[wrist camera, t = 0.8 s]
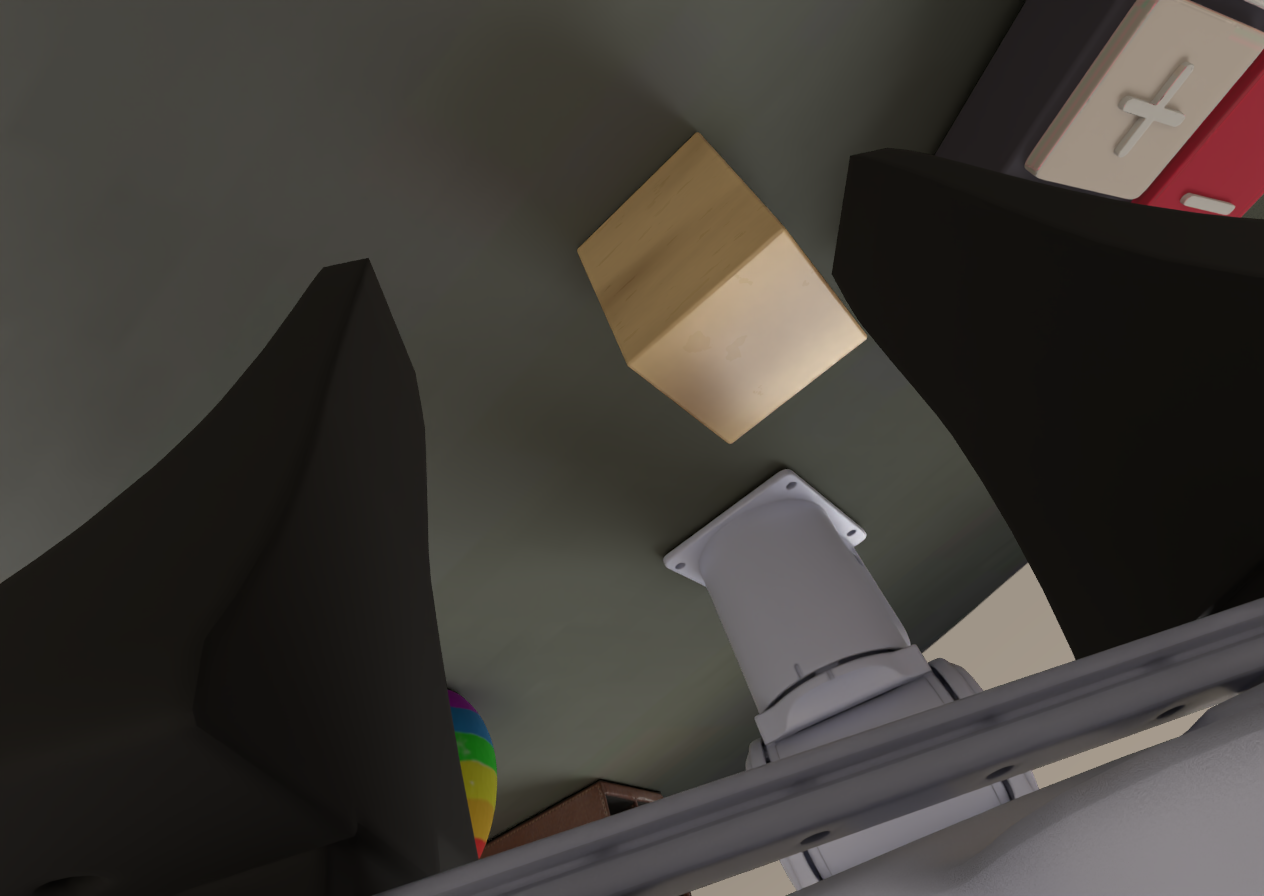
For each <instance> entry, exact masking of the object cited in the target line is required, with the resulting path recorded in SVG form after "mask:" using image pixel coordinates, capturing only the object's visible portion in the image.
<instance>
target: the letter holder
mask: <svg viewBox="0 0 1264 896" xmlns="http://www.w3.org/2000/svg"><path fill="white" fill-rule="evenodd" d="M662 798H663V797H662V795H661V792H654V791H648V790H644V789H639V788H635V787H630V786H626V785H621V784H616V783H611V782H607V781H603V780H599V781H598V782H596V783H594V784H592V785H590V786H589V787H587V788H585V789H583V790H581V791H580V792H578V793H576V794H574V795H573V796H570V797H569V798H567V799H565V800H563V801H561V802H560V803H558V804H556V805H554V806H552V807H550V808H549V809H547V810H545V811H543V812H542V813H540V814H538V815H536V816H535V817H533V818H531V819H529V820H527V821H525V822H523V823H522V824H520V825H518V826H517V827H515V828H512V829H511V830H509V831H507V832H505V833H504V834H502V835H500V836H499V837H497V838H495V839H494V840H492V841H490V842H488V843H487V844H485V847H484V850H483V852H482V854H481V856H480V858H479V860H480V859H483V858H486V857H489V856H492V855H495V854H498V853H501V852H504V851H507V850H510V849H513V848H516V847H519V846H522V845H525V844H528V843H531V842H534V841H537V840H540V839H543V838H546V837H549V836H552V835H555V834H558V833H561V832H564V831H567V830H570V829H573V828H576V827H579V826H582V825H585V824H588V823H591V822H594V821H597V820H600V819H603V818H606V817H609V816H612V815H615V814H618V813H621V812H624V811H627V810H630V809H633V808H636V807H639V806H642V805H645V804H648V803H651V802H653V801H656V800H659V799H662ZM679 896H691V892H688V893H685V894H682V895H679Z"/></svg>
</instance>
